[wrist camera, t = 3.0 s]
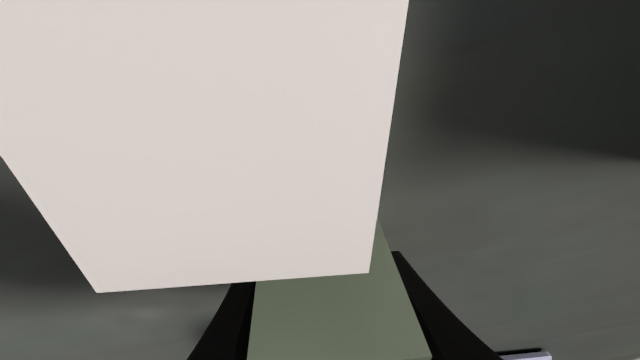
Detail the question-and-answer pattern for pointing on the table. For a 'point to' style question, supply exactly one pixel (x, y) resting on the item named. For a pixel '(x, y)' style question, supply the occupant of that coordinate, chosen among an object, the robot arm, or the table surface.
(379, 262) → the sage green block
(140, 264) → the off-white block
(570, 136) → the table surface
